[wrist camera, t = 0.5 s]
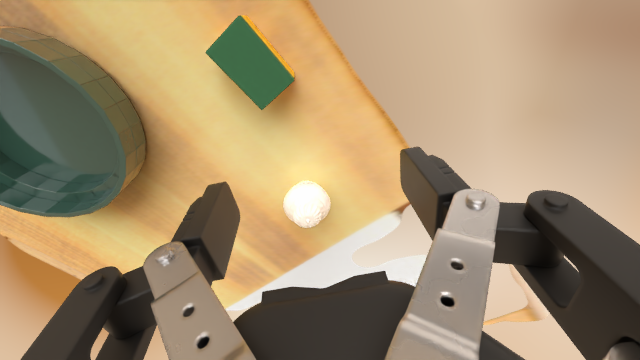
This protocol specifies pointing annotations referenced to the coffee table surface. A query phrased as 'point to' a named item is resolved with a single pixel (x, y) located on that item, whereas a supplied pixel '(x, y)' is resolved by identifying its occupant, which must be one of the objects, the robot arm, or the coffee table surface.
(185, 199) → the coffee table surface
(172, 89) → the coffee table surface
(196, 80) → the coffee table surface
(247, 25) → the sponge
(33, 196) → the bowl
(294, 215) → the muffin
